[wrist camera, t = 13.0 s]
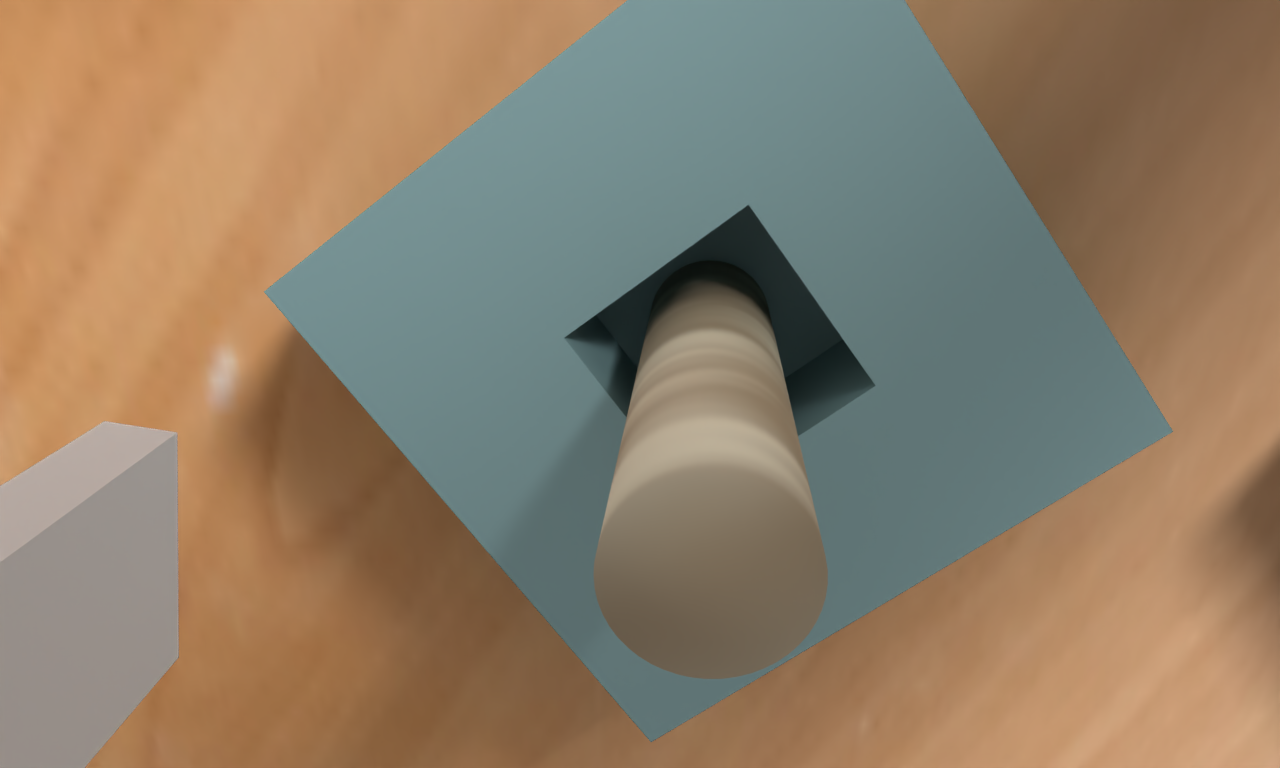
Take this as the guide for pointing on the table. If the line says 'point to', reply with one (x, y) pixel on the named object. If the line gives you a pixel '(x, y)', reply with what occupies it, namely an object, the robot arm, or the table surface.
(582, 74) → the socket block
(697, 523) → the pin
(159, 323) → the table surface
